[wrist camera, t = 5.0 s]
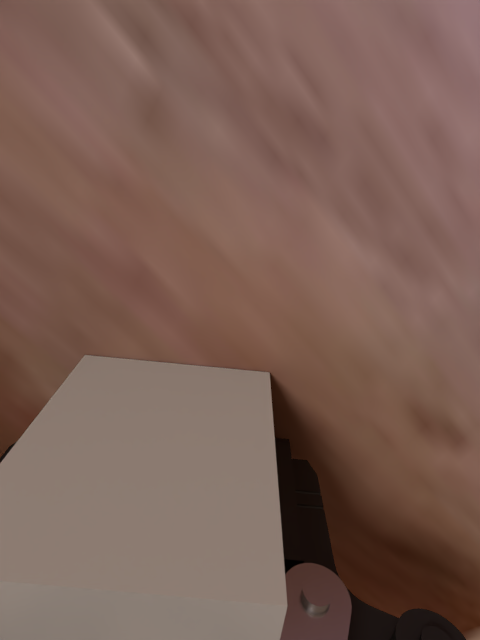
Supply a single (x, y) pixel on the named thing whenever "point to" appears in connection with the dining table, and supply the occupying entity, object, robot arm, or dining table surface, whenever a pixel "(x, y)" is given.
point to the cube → (144, 508)
